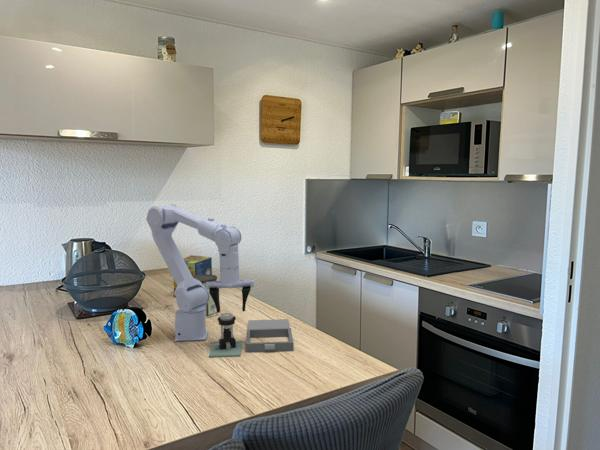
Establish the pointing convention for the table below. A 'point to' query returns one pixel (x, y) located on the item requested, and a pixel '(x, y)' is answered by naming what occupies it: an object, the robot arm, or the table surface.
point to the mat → (225, 350)
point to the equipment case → (269, 335)
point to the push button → (226, 331)
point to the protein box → (197, 266)
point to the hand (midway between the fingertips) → (231, 311)
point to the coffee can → (210, 306)
